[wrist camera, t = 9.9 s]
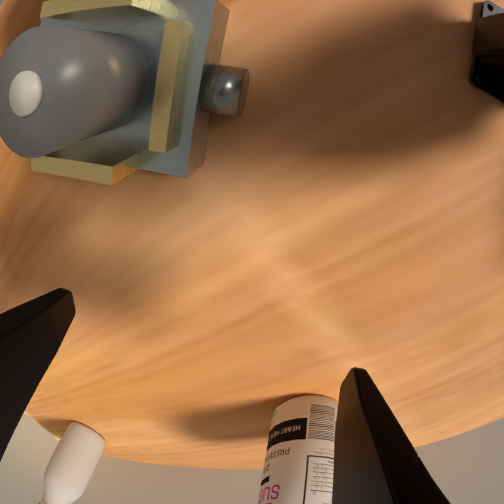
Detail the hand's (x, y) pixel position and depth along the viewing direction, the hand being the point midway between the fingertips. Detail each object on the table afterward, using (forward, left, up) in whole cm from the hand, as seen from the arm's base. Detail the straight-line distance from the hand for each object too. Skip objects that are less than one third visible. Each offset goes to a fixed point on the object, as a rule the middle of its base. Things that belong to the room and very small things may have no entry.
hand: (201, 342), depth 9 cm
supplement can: (-10, +22, -13) cm, 28 cm away
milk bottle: (+22, +50, -13) cm, 56 cm away
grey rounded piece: (+10, -6, -10) cm, 15 cm away
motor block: (+10, -6, -13) cm, 17 cm away
